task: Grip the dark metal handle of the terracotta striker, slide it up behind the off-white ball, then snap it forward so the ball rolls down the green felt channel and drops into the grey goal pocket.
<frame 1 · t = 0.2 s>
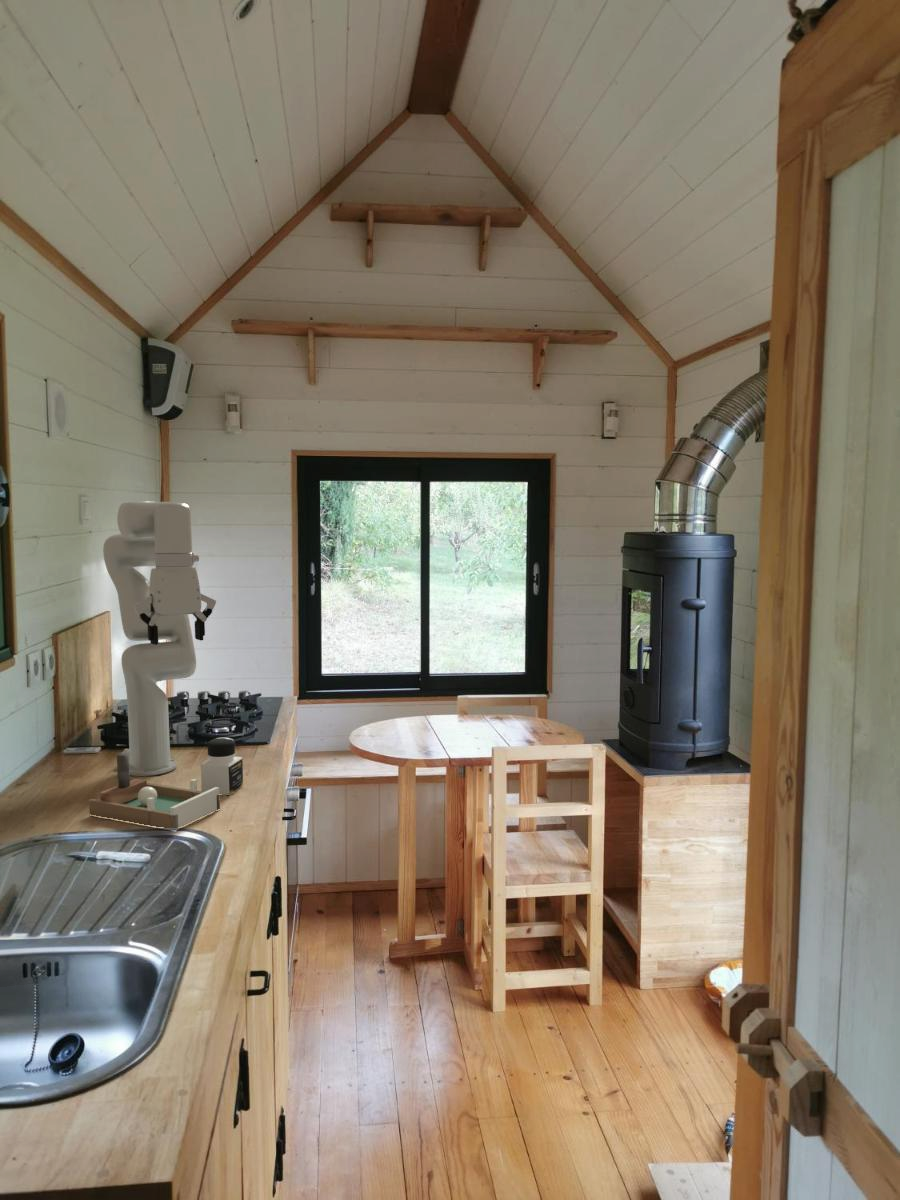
hand: (177, 641, 186), 36 cm above the worktop, tool pointing down, fingers open, 9 cm apart
ball: (147, 796, 186), point 3 cm above the worktop, touching pitch
striker: (123, 777, 189), point 7 cm above the worktop, slide at 0.0 cm
medicine bottle: (222, 791, 201), on the worktop
pitch: (155, 813, 186), on the worktop
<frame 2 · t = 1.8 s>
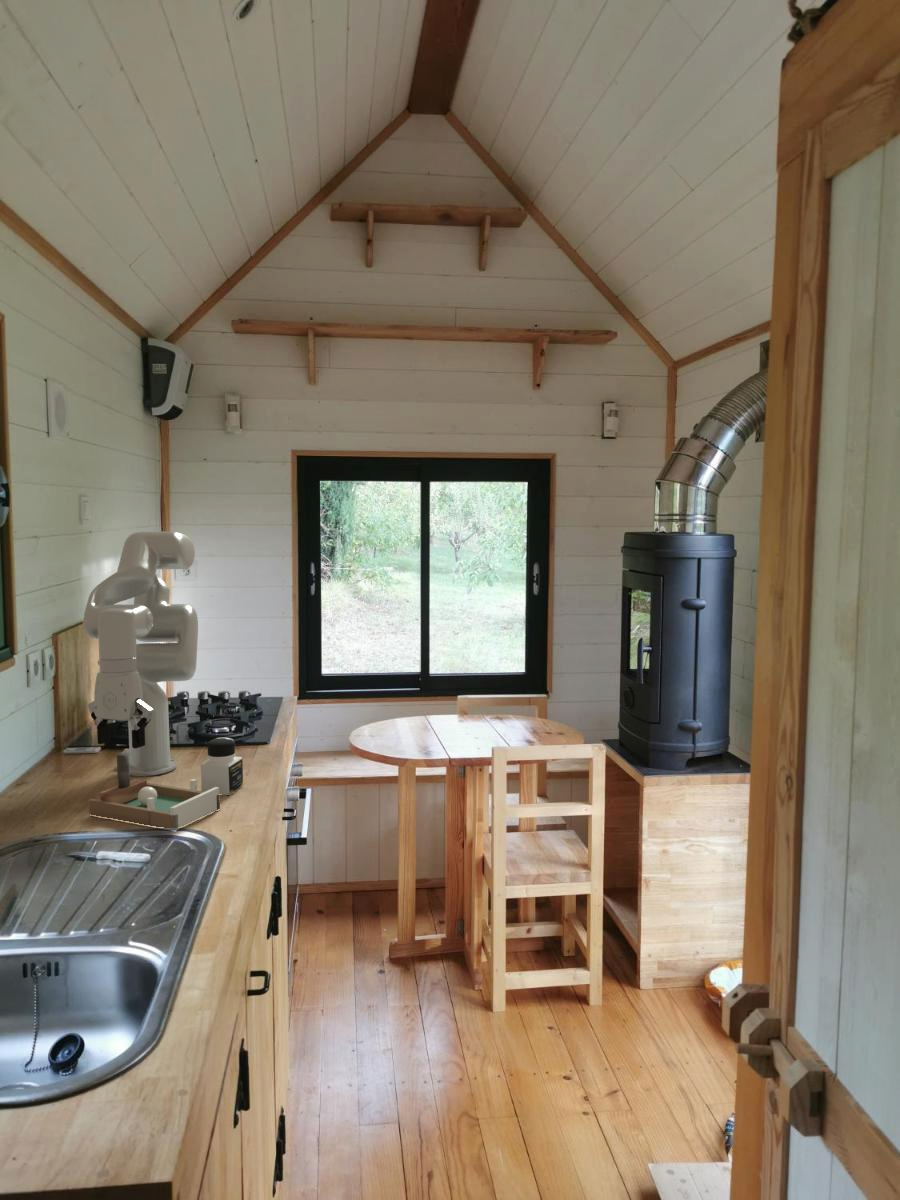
hand: (121, 744, 187), 14 cm above the worktop, tool pointing down, fingers open, 9 cm apart
nothing on the worktop moved.
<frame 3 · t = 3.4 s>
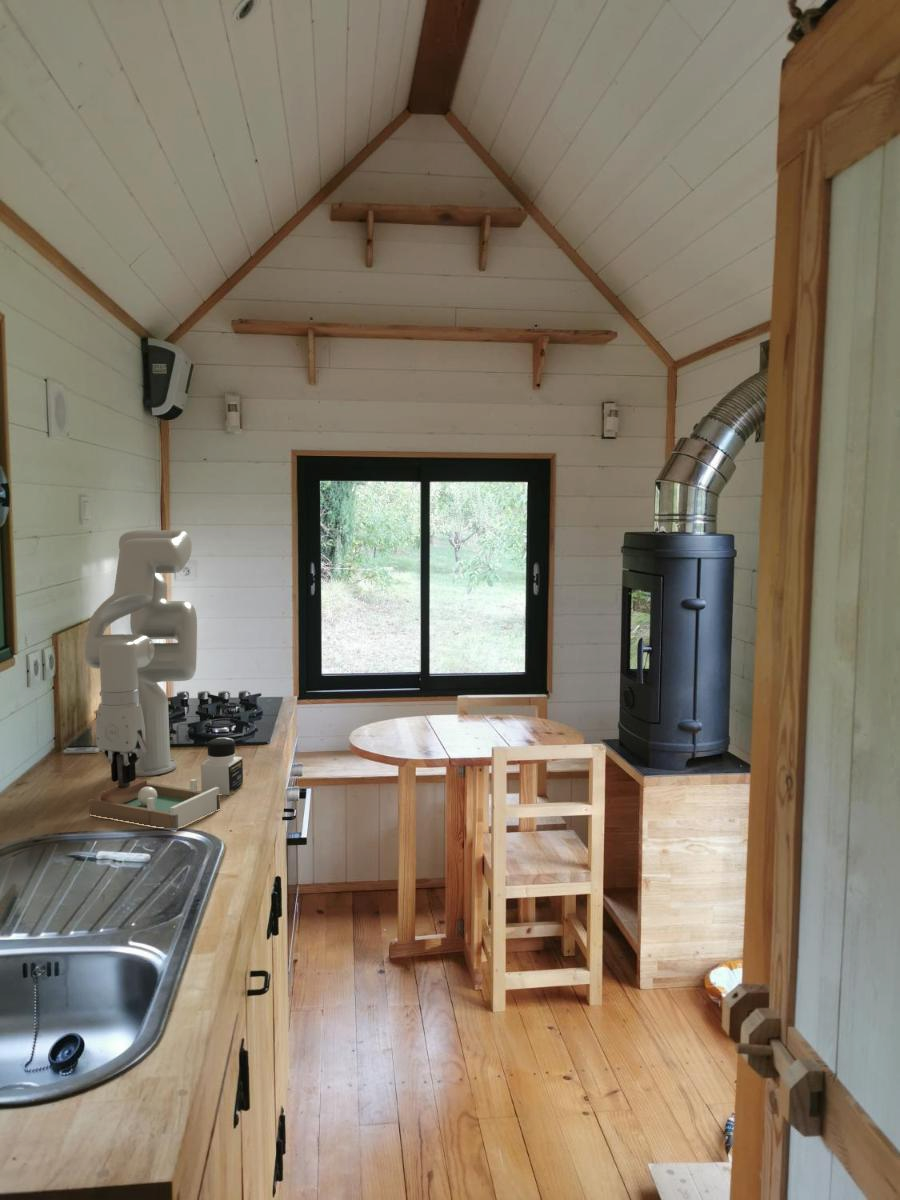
hand: (123, 780, 189), 6 cm above the worktop, tool pointing down, fingers closed on striker, 2 cm apart
striker: (123, 777, 189), point 7 cm above the worktop, slide at 0.0 cm, touching gripper
everything else where it was.
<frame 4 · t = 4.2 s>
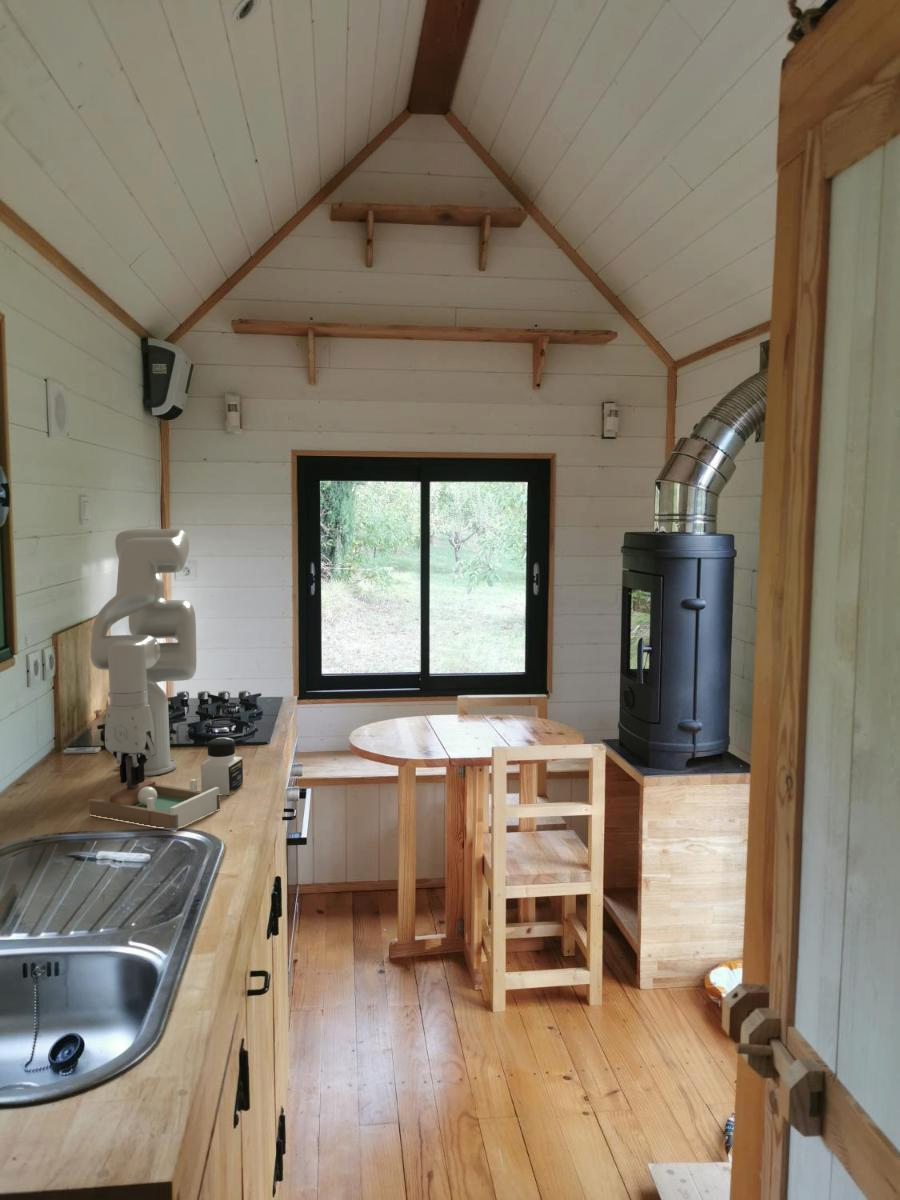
hand: (132, 781, 188), 6 cm above the worktop, tool pointing down, fingers closed on striker, 2 cm apart
striker: (132, 778, 188), point 7 cm above the worktop, slide at 2.5 cm, touching gripper
everything else where it was.
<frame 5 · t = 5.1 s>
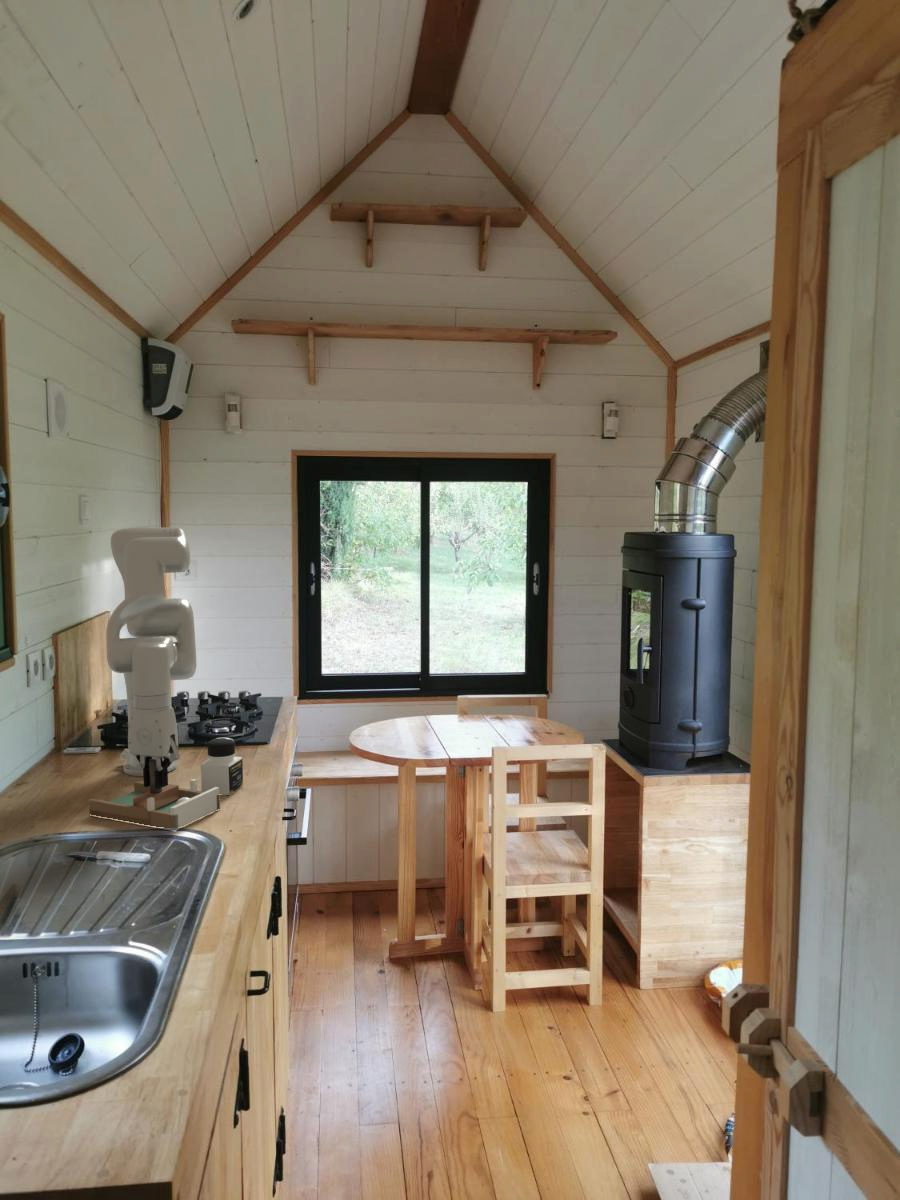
hand: (156, 785, 185), 6 cm above the worktop, tool pointing down, fingers closed on striker, 2 cm apart
ball: (184, 806, 183), point 2 cm above the worktop, tilted 74°, touching pitch
striker: (155, 782, 185), point 7 cm above the worktop, slide at 9.0 cm, touching gripper
everything else where it was.
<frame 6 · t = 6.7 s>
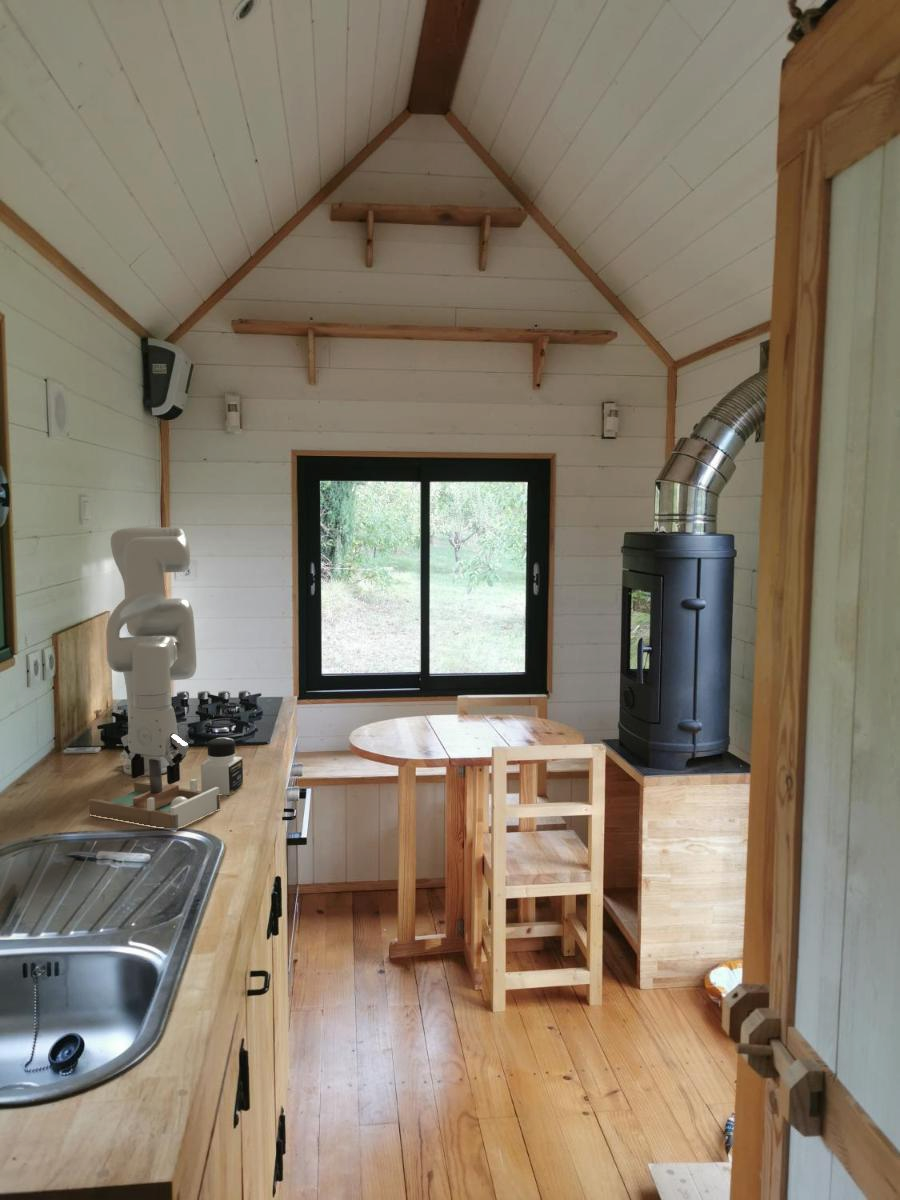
hand: (155, 779, 185), 7 cm above the worktop, tool pointing down, fingers open, 9 cm apart
ball: (180, 806, 183), point 2 cm above the worktop, tilted 108°, touching pitch
striker: (155, 782, 185), point 7 cm above the worktop, slide at 9.0 cm
everything else where it was.
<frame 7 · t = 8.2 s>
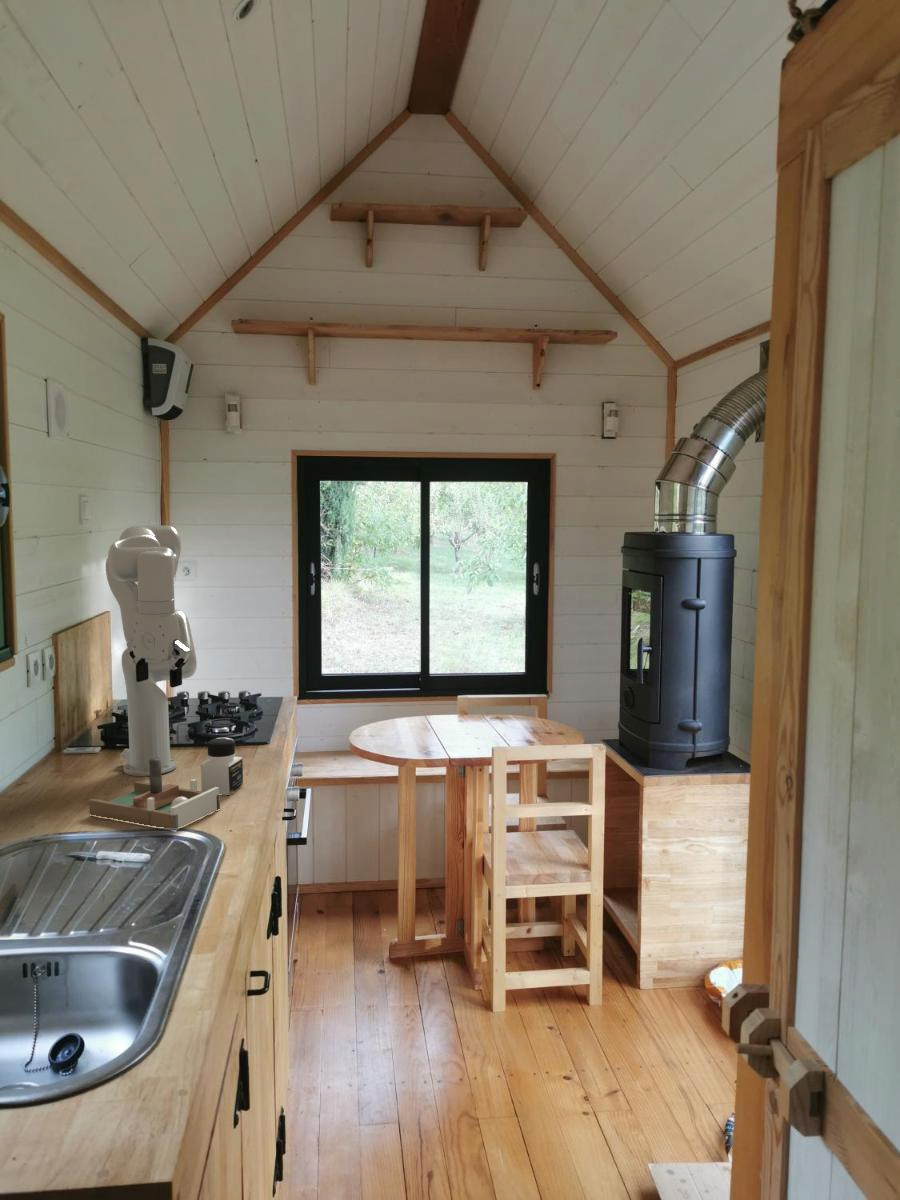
hand: (159, 683, 194), 26 cm above the worktop, tool pointing down, fingers open, 9 cm apart
nothing on the worktop moved.
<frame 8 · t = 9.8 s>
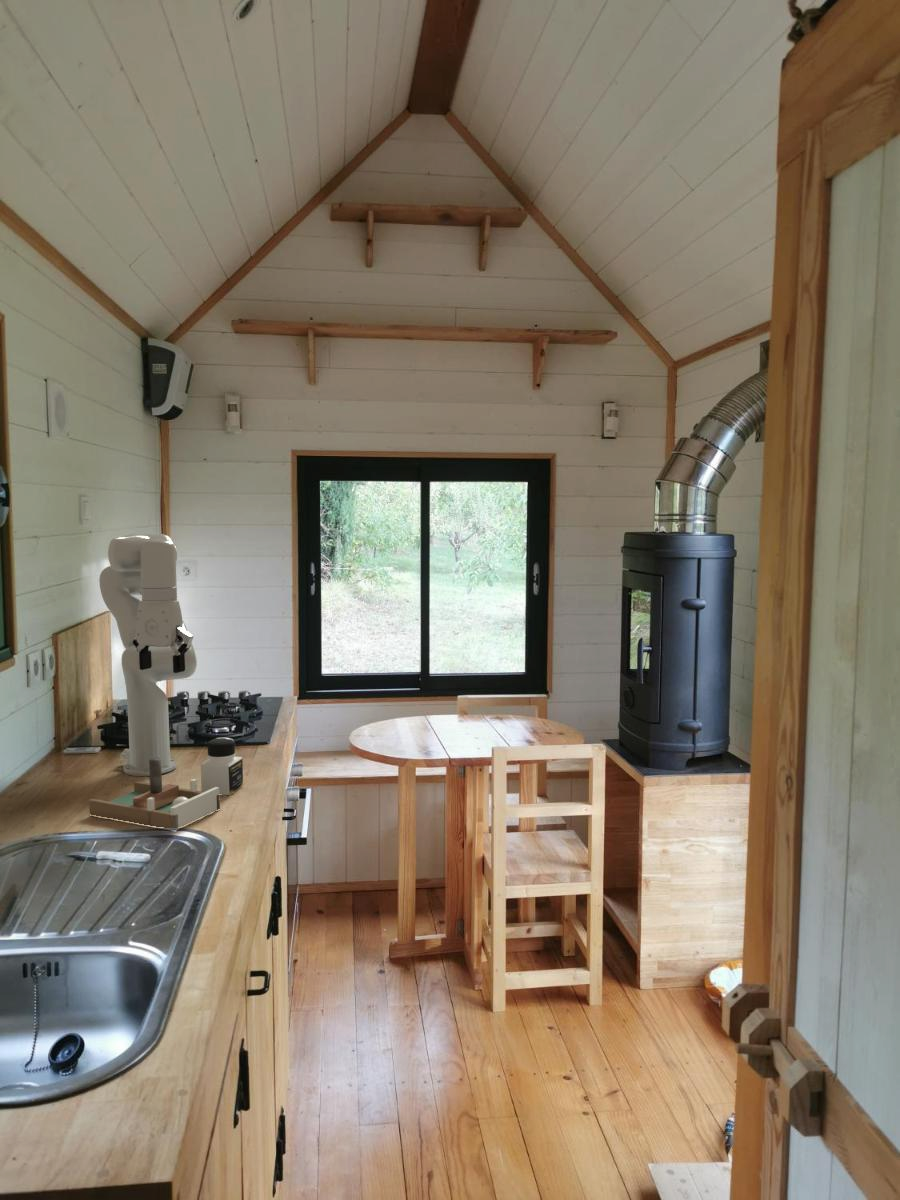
hand: (162, 670, 197), 28 cm above the worktop, tool pointing down, fingers open, 9 cm apart
ball: (181, 806, 183), point 2 cm above the worktop, tilted 98°, touching pitch
everything else where it was.
at the end: ball inside the target area (1.2 cm from its centre), point 2.5 cm above the worktop; striker slide at 9.0 cm; the gripper is holding nothing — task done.
